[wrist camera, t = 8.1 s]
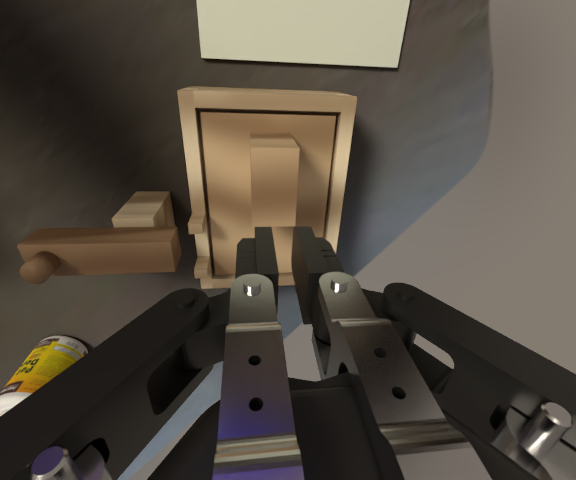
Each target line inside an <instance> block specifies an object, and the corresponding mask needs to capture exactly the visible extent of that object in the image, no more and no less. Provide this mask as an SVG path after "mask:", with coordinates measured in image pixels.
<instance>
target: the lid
mask: <svg viewBox="0 0 576 480" xmlns="http://www.w3.org/2000/svg"><path fill="white" fill-rule="evenodd" d="M200 114H201V125H202V136H203V147H204V158H205V169H206V180H207V191H208V201H209V212H210V223H211V234H212V245H213V256H214V267H215V275H231V274H235V271H236V254H237V244H238V243H239V241H240V240H241V239H242V238H255V227H272V233H273V239H274V246H275V252H276V259H277V265H278V271H279V273H288V272H292V267H291V255H292V240H293V228H294V226H311V227H312V230H313V232H314V235H315V237H323V231H324V222H325V212H326V203H327V194H328V185H329V176H330V166H331V157H332V148H333V139H334V130H335V120H336V116H335V115H333V114H311V113H277V112H244V111H210V110H202V111H201V112H200Z"/></svg>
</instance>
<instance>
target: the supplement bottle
mask: <svg viewBox="0 0 576 480" xmlns="http://www.w3.org/2000/svg"><path fill="white" fill-rule="evenodd" d="M87 353H88V351H87V348H86V347H85V346H84V345H83V344H82V343H81V342H80V341H78V340H76V339H74V338H71V337H68V336H51V337H48V338H45V339H43V340H42V341H41V342H39V343H38V345H37V346H36V347H35V348H34V350H33V351H32V352H31V353H30V355H29V356H28V357H27V359H26V360H25V361H24V362H23V364H22V365H21V366H20V368H19V369H18V370H17V372H16V373H15V374H14V376H13V377H12V378H11V379H10V381H9V382H8V383H7V385H6V386H5V387H4V388H3V390H2V391H1V392H0V416H2V415H3V414H4V413H6V412H7V411H9V410H10V409H11V408H13V407H14V406H15V405H17V404H18V403H20V402H21V401H22V400H24V399H25V398H26V397H28V396H29V395H31V394H32V393H33V392H35V391H36V390H38V389H39V388H40V387H42V386H43V385H44V384H46V383H47V382H49V381H50V380H51V379H53V378H54V377H55V376H57V375H58V374H60V373H61V372H62V371H64V370H65V369H67V368H68V367H69V366H71V365H72V364H73V363H75V362H76V361H78V360H79V359H80V358H82V357H83V356H84V355H86V354H87Z"/></svg>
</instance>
